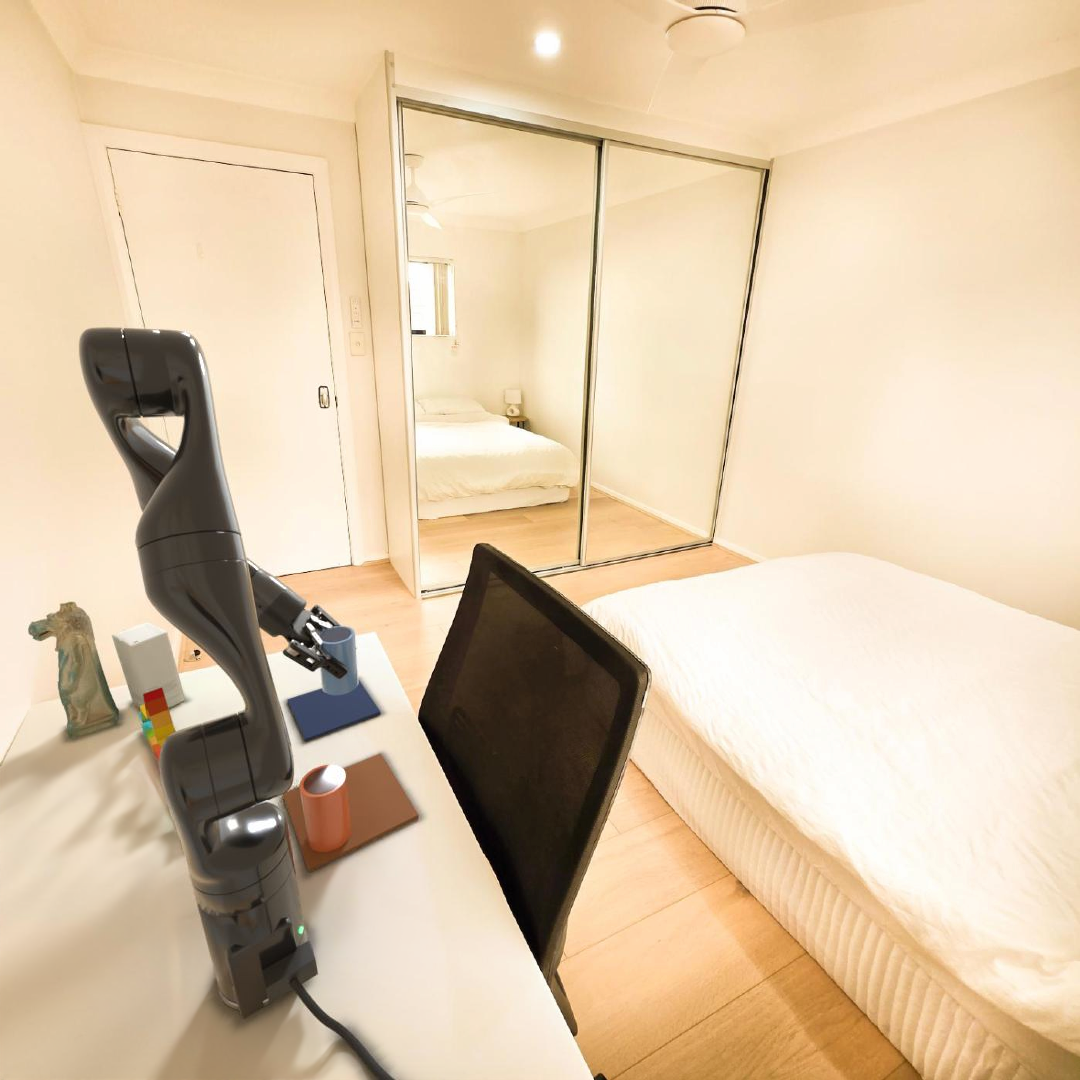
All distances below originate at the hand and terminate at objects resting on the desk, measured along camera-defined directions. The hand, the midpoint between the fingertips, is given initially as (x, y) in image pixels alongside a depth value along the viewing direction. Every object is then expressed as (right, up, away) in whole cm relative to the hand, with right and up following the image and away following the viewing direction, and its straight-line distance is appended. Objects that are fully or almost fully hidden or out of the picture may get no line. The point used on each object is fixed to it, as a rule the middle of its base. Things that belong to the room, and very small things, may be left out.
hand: (348, 663), depth 91 cm
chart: (-27, -18, -3) cm, 33 cm away
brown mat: (+3, -20, -9) cm, 22 cm away
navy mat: (-8, -12, +14) cm, 20 cm away
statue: (-50, -13, +7) cm, 52 cm away
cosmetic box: (-43, -11, +14) cm, 46 cm away
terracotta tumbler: (+2, -22, -14) cm, 26 cm away
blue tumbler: (-2, -4, +1) cm, 5 cm away
